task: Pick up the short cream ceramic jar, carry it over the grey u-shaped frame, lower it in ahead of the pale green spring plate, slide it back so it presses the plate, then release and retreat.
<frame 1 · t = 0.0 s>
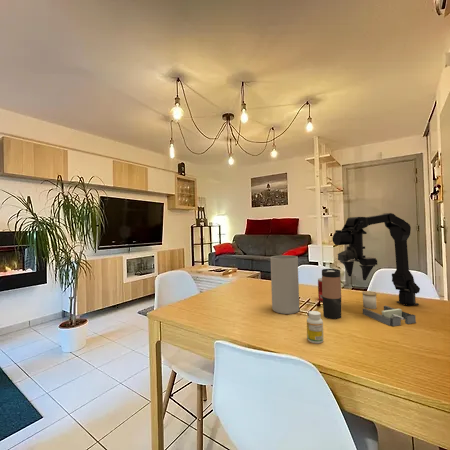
hand: (356, 278, 119), 15 cm above the table, fingers open, 9 cm apart
cylinder vase: (285, 310, 122), on the table
travel mug: (332, 316, 112), on the table
jar: (369, 307, 123), on the table
canned food: (326, 300, 135), on the table
supplement bottle: (315, 340, 90), on the table
pusher: (396, 316, 104), point 2 cm above the table, slide at 0.0 cm
grey u-shaped frame: (387, 318, 108), on the table
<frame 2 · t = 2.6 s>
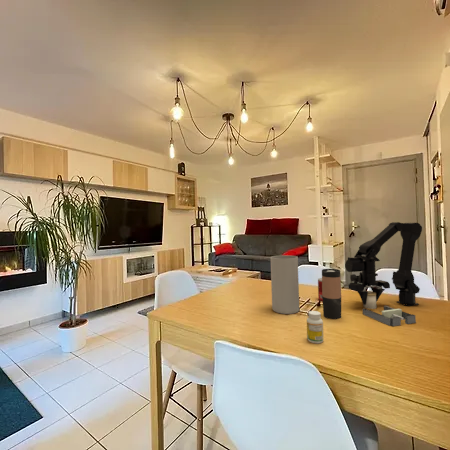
hand: (369, 303, 123), 2 cm above the table, fingers closed on jar, 5 cm apart
jar: (369, 307, 123), on the table, touching gripper
everything else where it was.
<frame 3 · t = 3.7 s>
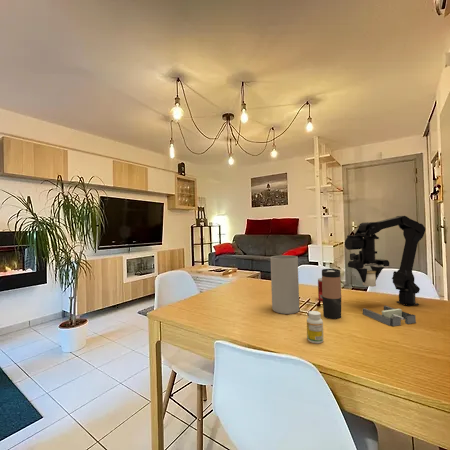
hand: (369, 281, 123), 12 cm above the table, fingers closed on jar, 5 cm apart
jar: (369, 285, 123), point 10 cm above the table, touching gripper
everything else where it was.
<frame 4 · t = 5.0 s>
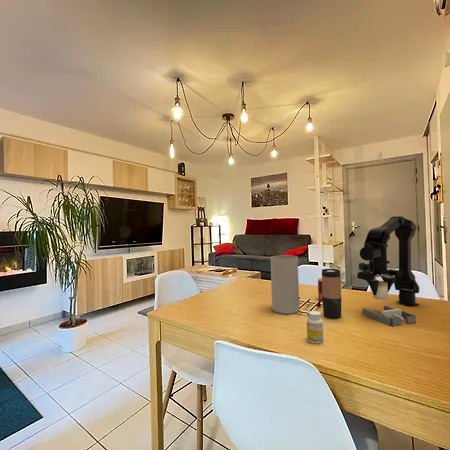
hand: (380, 294, 112), 9 cm above the table, fingers closed on jar, 5 cm apart
jar: (380, 297, 112), point 7 cm above the table, touching gripper
everything else where it was.
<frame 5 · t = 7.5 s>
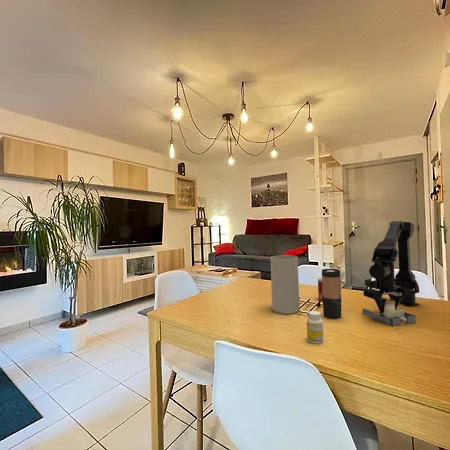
hand: (387, 312, 108), 2 cm above the table, fingers closed on jar, 5 cm apart
jar: (387, 316, 108), point 1 cm above the table, touching gripper, pusher
pusher: (399, 317, 103), point 2 cm above the table, slide at 1.2 cm, touching jar
everything else where it was.
when the fingers open (2 cm above the table, at t = 7.7 s): jar stays where it is, on the table.
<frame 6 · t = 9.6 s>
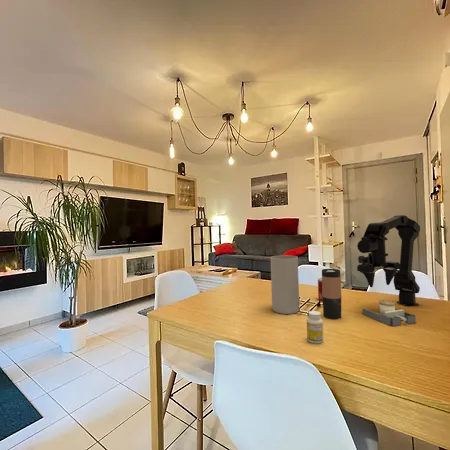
hand: (379, 286, 116), 12 cm above the table, fingers open, 9 cm apart
jar: (387, 317, 108), on the table
pusher: (399, 317, 103), point 2 cm above the table, slide at 1.2 cm
everything else where it was.
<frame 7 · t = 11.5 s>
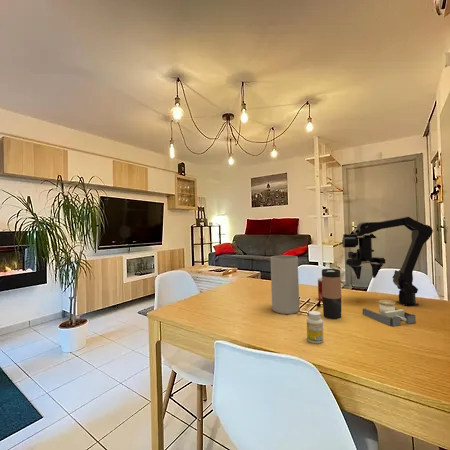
hand: (366, 278, 130), 12 cm above the table, fingers open, 9 cm apart
nothing on the table moved.
at the end: jar inside the target area (0.2 cm from its centre), on the table; jar tilted 0°; pusher slide at 1.2 cm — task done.
